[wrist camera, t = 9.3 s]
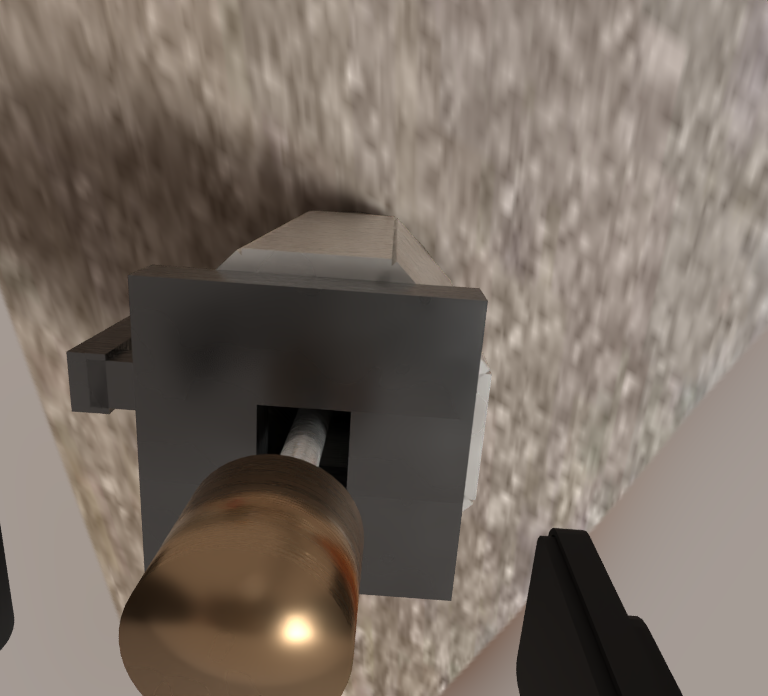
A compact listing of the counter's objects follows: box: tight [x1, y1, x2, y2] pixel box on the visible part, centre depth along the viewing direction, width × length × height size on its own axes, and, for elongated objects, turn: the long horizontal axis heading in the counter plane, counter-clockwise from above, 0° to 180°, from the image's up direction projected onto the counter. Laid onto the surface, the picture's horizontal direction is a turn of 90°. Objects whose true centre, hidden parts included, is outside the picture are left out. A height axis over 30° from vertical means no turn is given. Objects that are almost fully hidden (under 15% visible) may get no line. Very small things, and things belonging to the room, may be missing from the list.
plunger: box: [119, 408, 364, 696], centre depth 19 cm, size 7×7×20 cm
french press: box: [67, 210, 492, 601], centre depth 23 cm, size 13×10×16 cm
